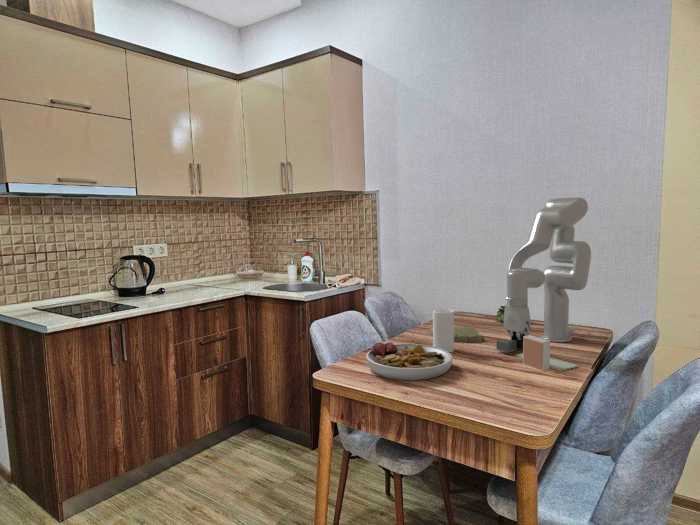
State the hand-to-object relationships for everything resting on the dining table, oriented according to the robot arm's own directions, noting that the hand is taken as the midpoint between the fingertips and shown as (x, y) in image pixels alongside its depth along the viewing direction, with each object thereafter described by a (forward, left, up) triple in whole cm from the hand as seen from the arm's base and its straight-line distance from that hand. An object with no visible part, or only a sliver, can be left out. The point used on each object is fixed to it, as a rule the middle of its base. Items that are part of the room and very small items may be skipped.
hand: (517, 347), depth 181 cm
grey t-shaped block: (0, 0, -1) cm, 1 cm away
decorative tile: (+8, -29, -2) cm, 30 cm away
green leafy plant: (-34, -39, -1) cm, 52 cm away
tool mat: (+2, +15, -1) cm, 15 cm away
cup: (+25, -15, -1) cm, 29 cm away
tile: (+9, +17, -1) cm, 19 cm away
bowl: (+49, -3, -2) cm, 49 cm away
